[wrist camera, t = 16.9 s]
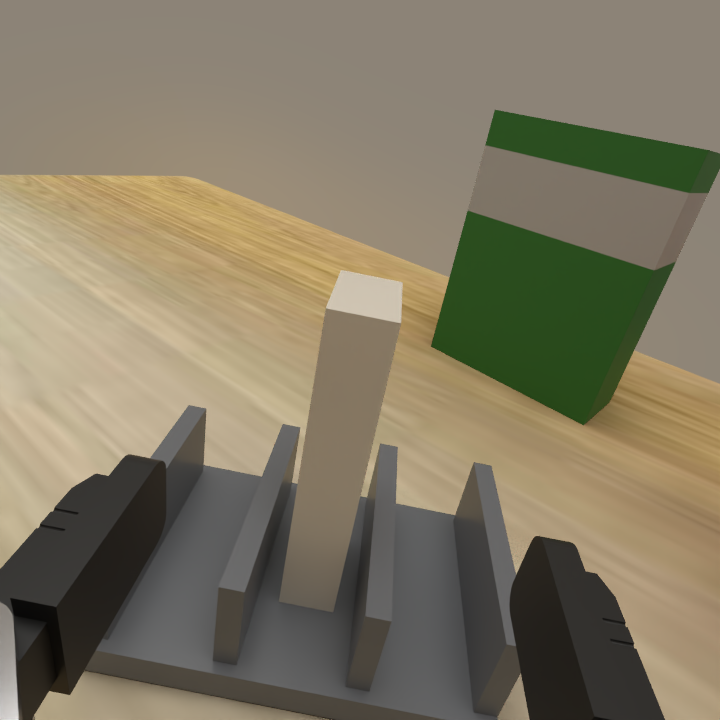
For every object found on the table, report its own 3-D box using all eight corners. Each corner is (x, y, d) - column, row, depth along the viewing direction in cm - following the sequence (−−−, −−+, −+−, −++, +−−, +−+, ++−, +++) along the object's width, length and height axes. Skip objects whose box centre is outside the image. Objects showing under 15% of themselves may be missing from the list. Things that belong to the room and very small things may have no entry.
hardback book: (431, 346, 57) (494, 109, 46) (465, 333, 62) (530, 118, 52) (583, 425, 48) (708, 150, 37) (609, 402, 53) (725, 155, 42)
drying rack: (189, 481, 32) (192, 400, 30) (462, 535, 32) (490, 460, 30) (79, 669, 22) (68, 569, 19) (488, 749, 22) (535, 662, 19)
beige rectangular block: (297, 530, 28) (341, 270, 22) (343, 540, 28) (402, 282, 22) (278, 601, 24) (325, 308, 18) (333, 612, 24) (400, 323, 18)
